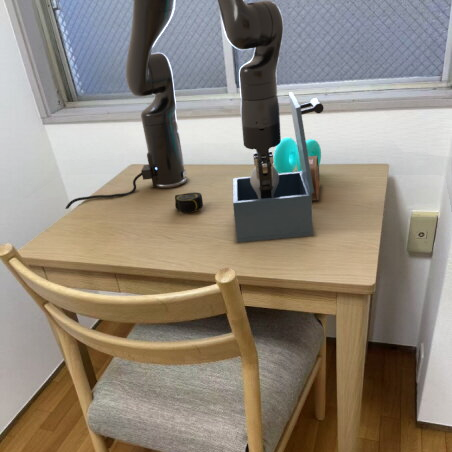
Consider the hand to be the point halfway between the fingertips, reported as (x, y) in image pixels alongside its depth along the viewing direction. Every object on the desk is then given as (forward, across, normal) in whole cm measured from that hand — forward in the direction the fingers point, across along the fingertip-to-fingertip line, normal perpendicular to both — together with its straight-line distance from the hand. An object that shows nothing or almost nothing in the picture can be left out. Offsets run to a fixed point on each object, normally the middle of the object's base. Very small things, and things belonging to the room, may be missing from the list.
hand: (266, 200), depth 103 cm
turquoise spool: (+6, -30, +10) cm, 32 cm away
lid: (-12, 0, +7) cm, 14 cm away
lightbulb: (+3, 0, 0) cm, 3 cm away
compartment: (+6, 0, +1) cm, 6 cm away
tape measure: (+6, -14, -19) cm, 24 cm away
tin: (+6, -16, +12) cm, 21 cm away
